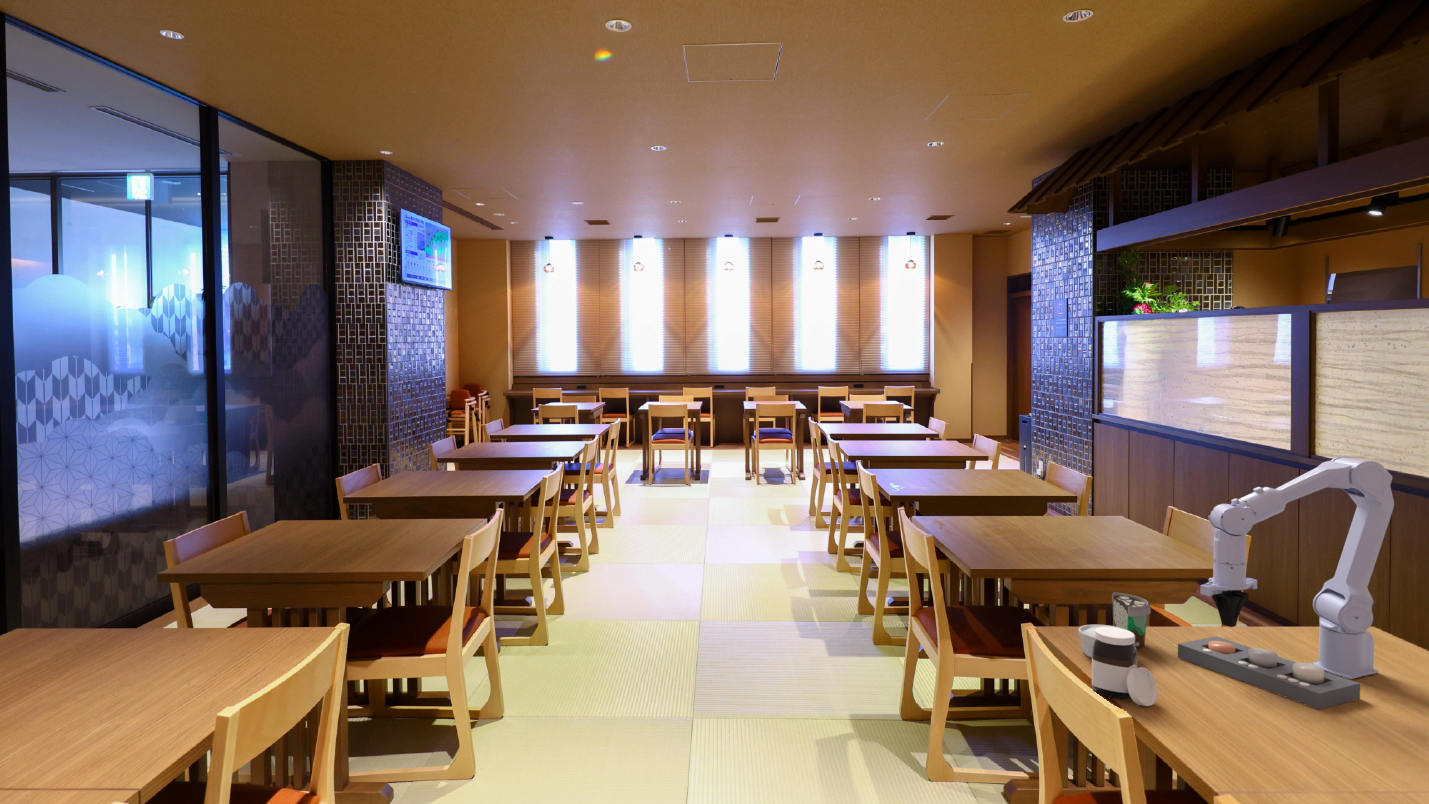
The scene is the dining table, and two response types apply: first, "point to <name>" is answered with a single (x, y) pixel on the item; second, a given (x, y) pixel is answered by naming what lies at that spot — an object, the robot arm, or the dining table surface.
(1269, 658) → the button two
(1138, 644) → the food container
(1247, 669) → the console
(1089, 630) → the ramekin
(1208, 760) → the dining table surface
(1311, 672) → the button three
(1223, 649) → the button one
